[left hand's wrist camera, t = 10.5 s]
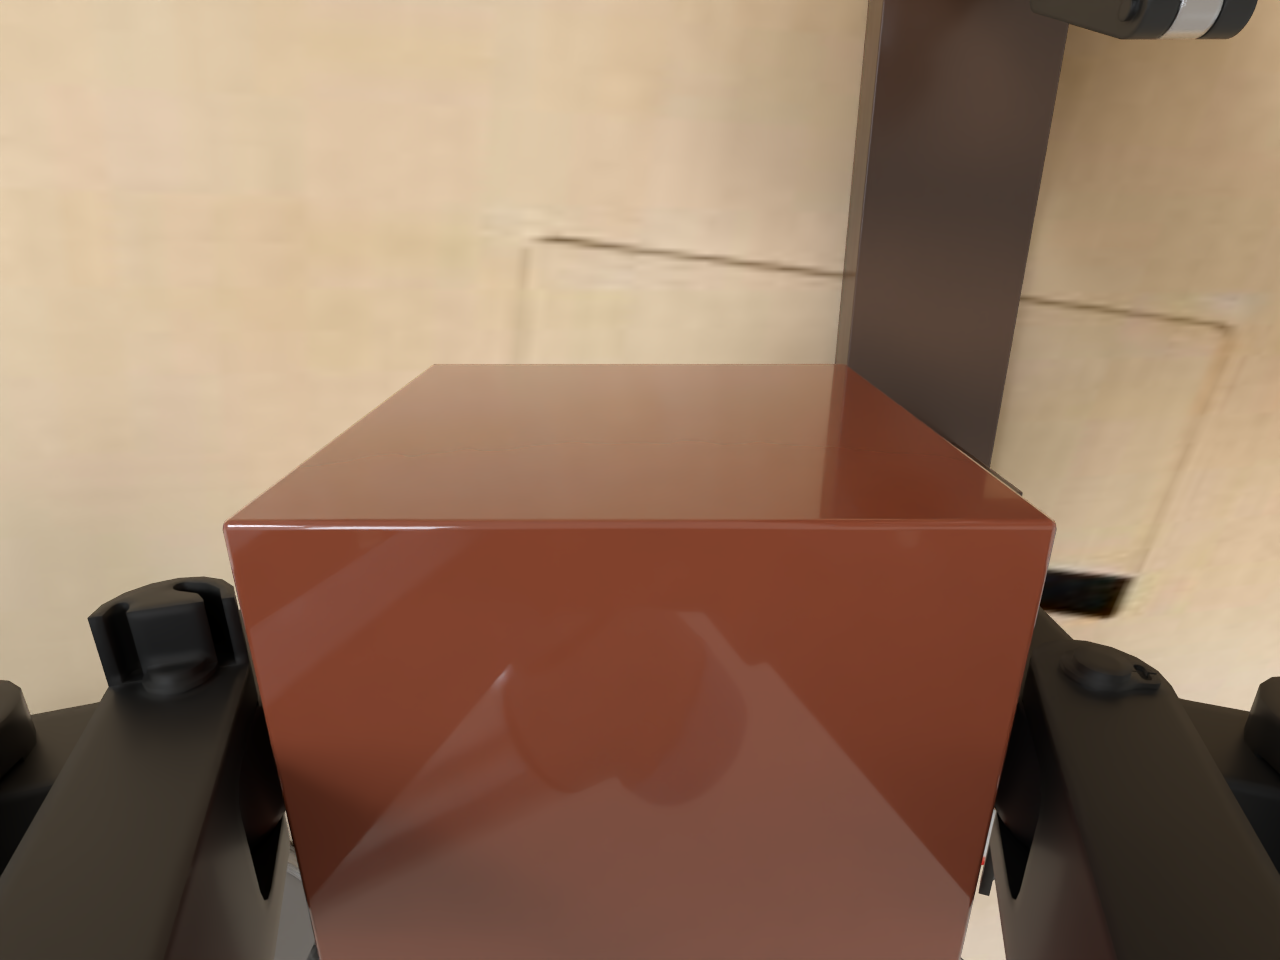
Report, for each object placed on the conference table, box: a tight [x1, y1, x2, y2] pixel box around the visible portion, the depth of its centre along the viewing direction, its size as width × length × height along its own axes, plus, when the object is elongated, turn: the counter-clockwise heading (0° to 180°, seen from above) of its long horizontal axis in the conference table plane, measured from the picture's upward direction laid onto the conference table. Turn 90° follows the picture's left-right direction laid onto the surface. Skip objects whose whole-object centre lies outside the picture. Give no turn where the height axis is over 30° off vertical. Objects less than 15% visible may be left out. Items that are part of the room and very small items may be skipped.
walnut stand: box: [835, 0, 1069, 496], centre depth 27 cm, size 28×7×9 cm, turn 0°
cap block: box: [223, 364, 1056, 960], centre depth 9 cm, size 6×6×6 cm
